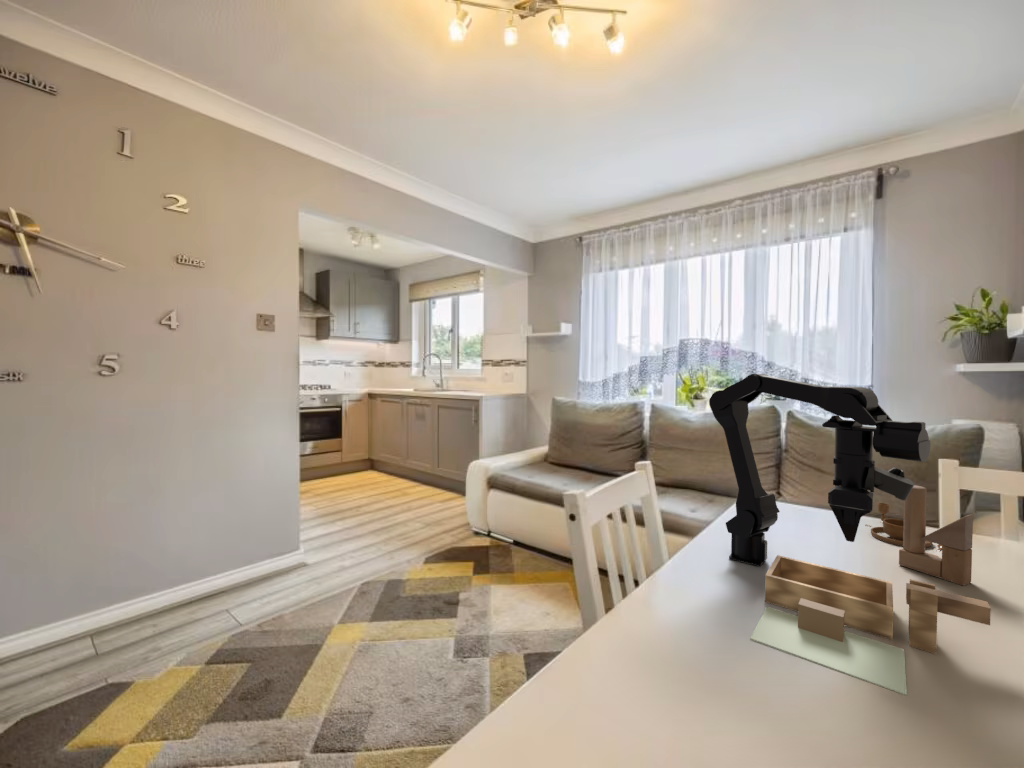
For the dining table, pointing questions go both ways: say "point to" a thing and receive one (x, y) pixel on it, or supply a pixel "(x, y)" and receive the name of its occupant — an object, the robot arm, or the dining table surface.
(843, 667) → the lid
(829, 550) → the dining table surface
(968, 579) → the wooden block structure
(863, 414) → the robot arm
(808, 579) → the tan wooden box
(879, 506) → the place setting
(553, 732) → the dining table surface
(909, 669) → the dining table surface
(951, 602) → the wooden plank
